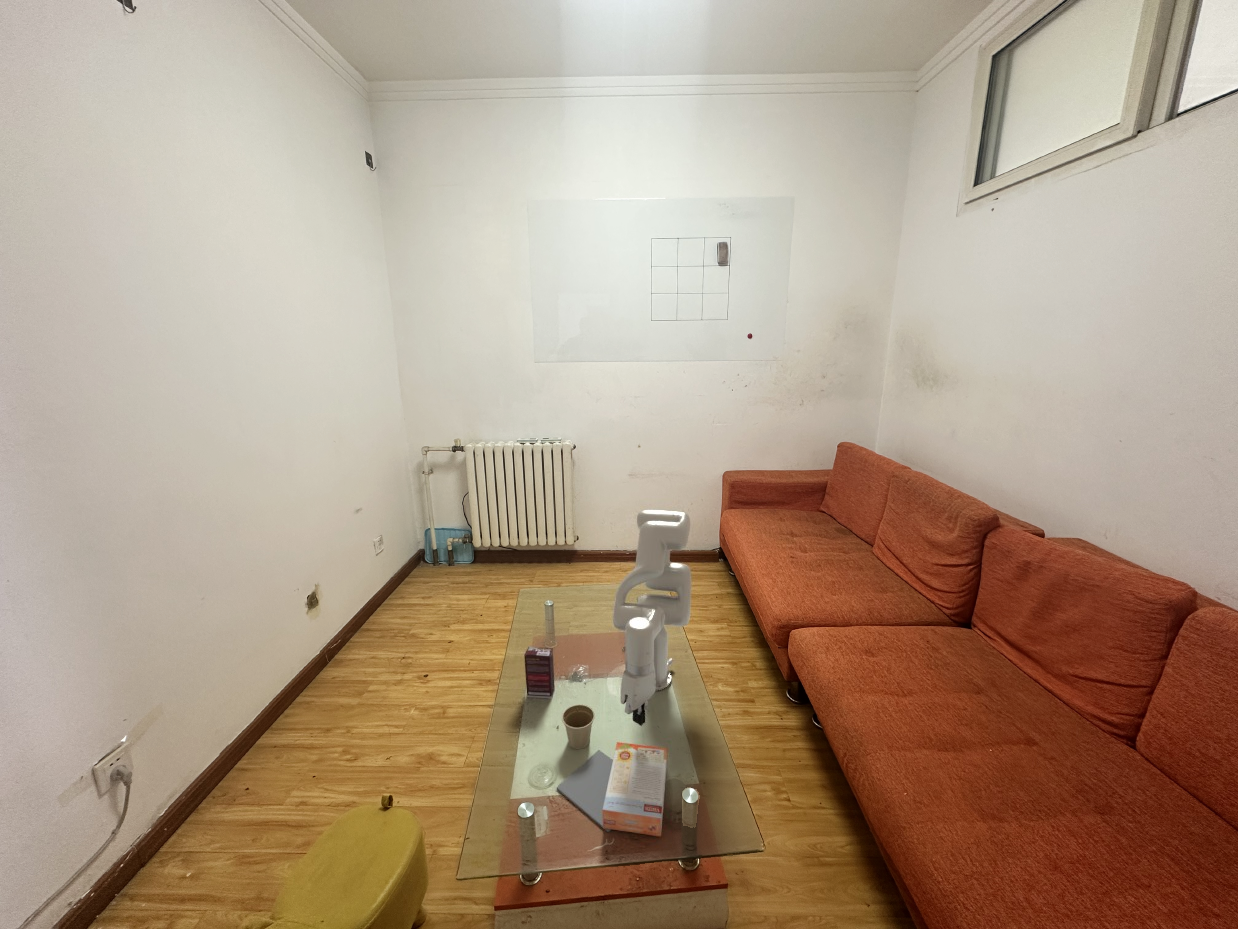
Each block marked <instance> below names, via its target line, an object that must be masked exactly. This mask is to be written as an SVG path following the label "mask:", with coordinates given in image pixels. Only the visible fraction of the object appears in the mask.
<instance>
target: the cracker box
mask: <svg viewBox="0 0 1238 929" xmlns="http://www.w3.org/2000/svg"><path fill="white" fill-rule="evenodd" d="M614 749H615V751H614V755H613V758H612V760H613V763H612V768H611V772H610V777H609V782H608V786H607V791H606V796H605V800H604V805H603V809H602V811H603V828H607V829H611V830H616V831H621V832H628V833H633V834H634V833H635V834H640V835H642V834H643V835H646V836H647V835H648V836H654V837H661V836H662V825H663V817H664V816H663V813H664V802H665V791H666V778H667V777H666V776H667V765H668V764H667V763H668V761H667V760H668V748H667V747H662V746H661V747H660V746H652V745H646V744H645V745H643V744H636V743H635V744H634V743H628V742H620V741H618V742H616V745H615V748H614ZM603 828H602V829H603Z"/></svg>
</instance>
